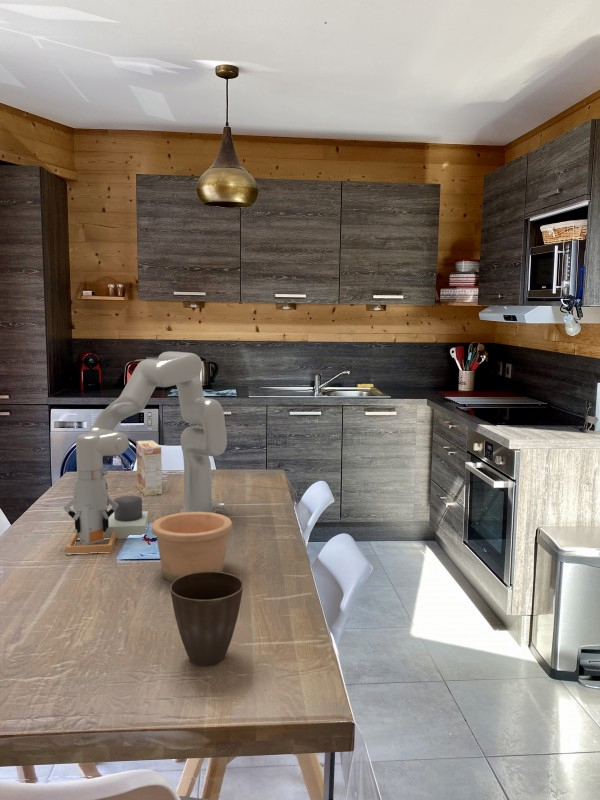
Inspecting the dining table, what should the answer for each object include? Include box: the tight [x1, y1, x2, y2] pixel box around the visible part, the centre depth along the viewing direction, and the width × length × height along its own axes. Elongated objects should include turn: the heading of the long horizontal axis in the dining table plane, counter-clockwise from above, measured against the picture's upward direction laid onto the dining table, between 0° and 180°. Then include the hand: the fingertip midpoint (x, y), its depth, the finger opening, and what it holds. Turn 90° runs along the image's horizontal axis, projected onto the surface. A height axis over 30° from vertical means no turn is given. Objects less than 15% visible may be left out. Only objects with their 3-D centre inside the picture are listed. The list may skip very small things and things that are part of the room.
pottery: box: [151, 512, 233, 583], centre depth 190 cm, size 22×22×14 cm
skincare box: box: [79, 506, 104, 545], centre depth 210 cm, size 6×4×12 cm
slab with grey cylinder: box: [65, 495, 149, 554], centre depth 219 cm, size 22×29×10 cm
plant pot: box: [169, 571, 244, 667], centre depth 143 cm, size 15×15×16 cm
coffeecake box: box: [135, 439, 163, 497], centre depth 275 cm, size 15×7×20 cm, turn 25°
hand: (92, 530), depth 211 cm, fingers closed on skincare box, 7 cm apart
